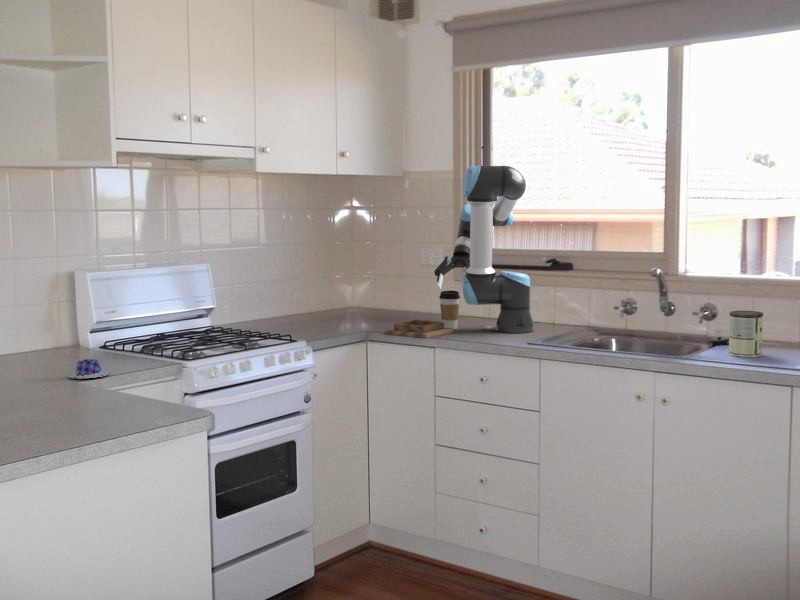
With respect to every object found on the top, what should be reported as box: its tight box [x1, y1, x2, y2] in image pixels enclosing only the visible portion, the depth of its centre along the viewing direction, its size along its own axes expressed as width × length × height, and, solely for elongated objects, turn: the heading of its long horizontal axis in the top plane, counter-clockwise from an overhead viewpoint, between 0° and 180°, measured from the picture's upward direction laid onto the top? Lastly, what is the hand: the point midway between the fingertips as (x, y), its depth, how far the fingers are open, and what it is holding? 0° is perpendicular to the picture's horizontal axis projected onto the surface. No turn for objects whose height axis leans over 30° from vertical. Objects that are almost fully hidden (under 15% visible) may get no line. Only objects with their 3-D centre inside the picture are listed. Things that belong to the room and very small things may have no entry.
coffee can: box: [728, 310, 764, 358], centre depth 290 cm, size 10×10×14 cm
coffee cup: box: [438, 290, 461, 330], centre depth 357 cm, size 8×8×15 cm
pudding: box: [75, 358, 102, 376], centre depth 266 cm, size 12×12×5 cm
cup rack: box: [384, 319, 454, 339], centre depth 346 cm, size 20×18×4 cm
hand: (454, 288), depth 365 cm, fingers open, 13 cm apart
